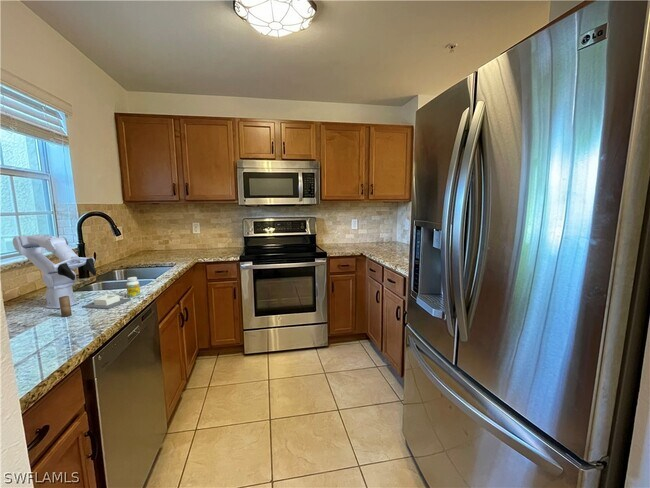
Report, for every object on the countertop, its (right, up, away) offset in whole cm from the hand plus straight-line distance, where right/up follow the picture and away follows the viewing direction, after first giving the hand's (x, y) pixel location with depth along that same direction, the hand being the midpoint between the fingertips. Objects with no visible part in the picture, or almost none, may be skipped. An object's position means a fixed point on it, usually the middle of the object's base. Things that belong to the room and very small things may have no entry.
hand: (84, 275), depth 125 cm
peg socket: (0, -14, +12) cm, 19 cm away
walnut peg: (-6, -16, -1) cm, 18 cm away
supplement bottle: (+6, -13, +22) cm, 27 cm away
